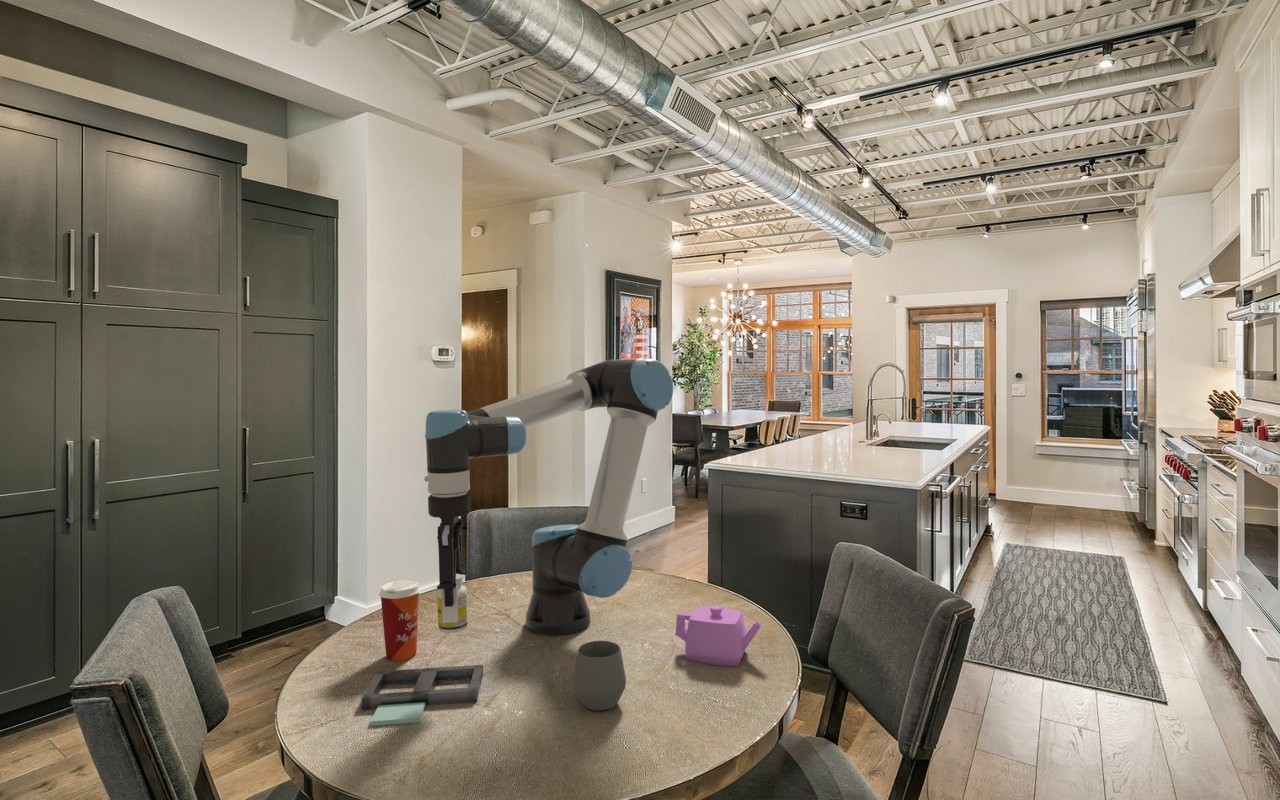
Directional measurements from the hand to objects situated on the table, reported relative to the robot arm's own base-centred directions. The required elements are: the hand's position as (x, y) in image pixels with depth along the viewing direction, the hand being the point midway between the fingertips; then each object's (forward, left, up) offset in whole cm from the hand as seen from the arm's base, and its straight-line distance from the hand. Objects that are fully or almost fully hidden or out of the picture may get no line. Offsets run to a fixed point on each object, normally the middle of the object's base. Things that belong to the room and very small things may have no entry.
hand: (452, 615), depth 127 cm
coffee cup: (+13, -17, -14) cm, 26 cm away
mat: (+8, +9, -14) cm, 19 cm away
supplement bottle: (0, 0, -3) cm, 3 cm away
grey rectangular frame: (+5, 0, -14) cm, 15 cm away
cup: (-27, +10, -14) cm, 32 cm away
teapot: (-53, -7, -14) cm, 55 cm away
